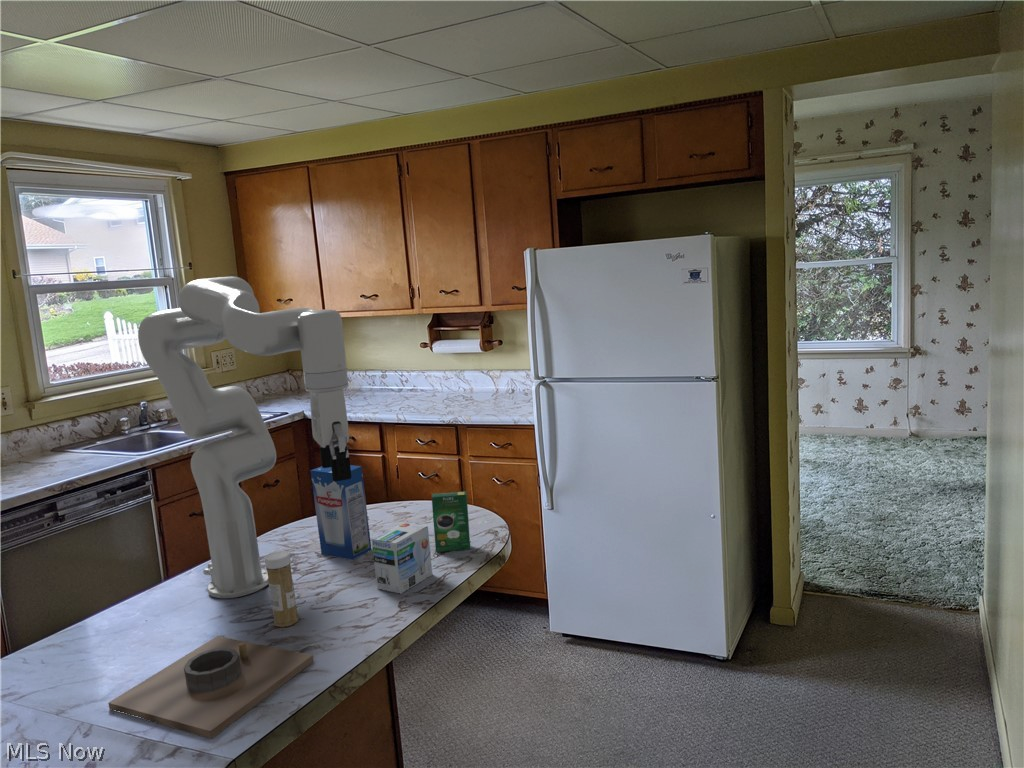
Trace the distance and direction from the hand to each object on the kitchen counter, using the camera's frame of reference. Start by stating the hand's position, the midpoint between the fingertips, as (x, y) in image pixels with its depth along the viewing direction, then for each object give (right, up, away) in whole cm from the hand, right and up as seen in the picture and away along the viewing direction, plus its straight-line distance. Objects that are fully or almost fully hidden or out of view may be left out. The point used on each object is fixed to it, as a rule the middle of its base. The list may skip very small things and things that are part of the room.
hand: (336, 473), depth 141 cm
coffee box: (+19, -21, +35) cm, 45 cm away
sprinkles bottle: (-11, -29, +5) cm, 31 cm away
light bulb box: (+10, -25, +19) cm, 33 cm away
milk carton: (-6, -23, +38) cm, 45 cm away
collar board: (-16, -33, -15) cm, 39 cm away
